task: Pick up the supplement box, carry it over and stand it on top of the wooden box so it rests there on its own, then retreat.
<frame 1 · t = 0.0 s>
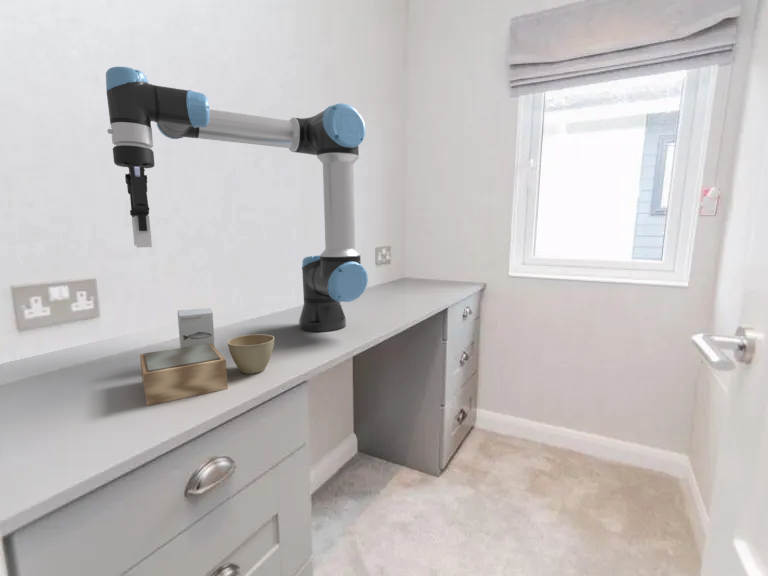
hand: (142, 246, 90), 28 cm above the table, fingers open, 13 cm apart
wooden box: (184, 385, 82), on the table
flower pot: (253, 370, 91), on the table
supplement box: (198, 363, 97), on the table
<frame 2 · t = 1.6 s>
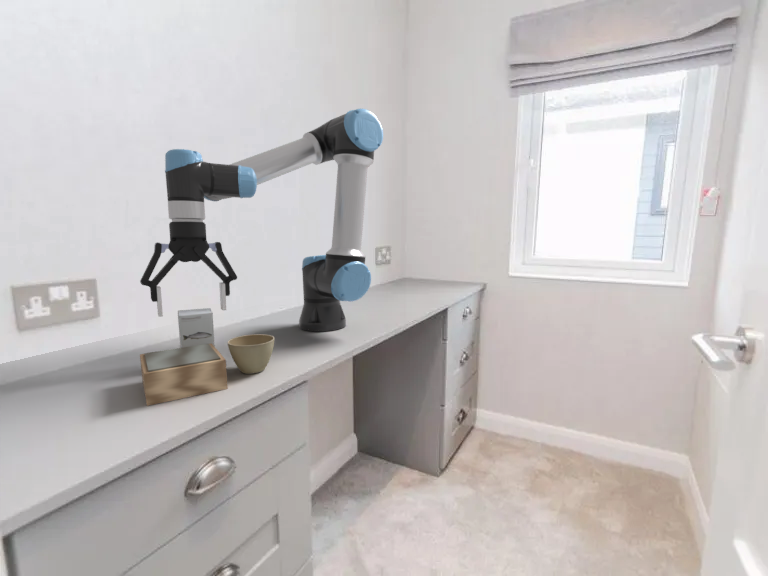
hand: (193, 312, 95), 12 cm above the table, fingers open, 13 cm apart
nothing on the table moved.
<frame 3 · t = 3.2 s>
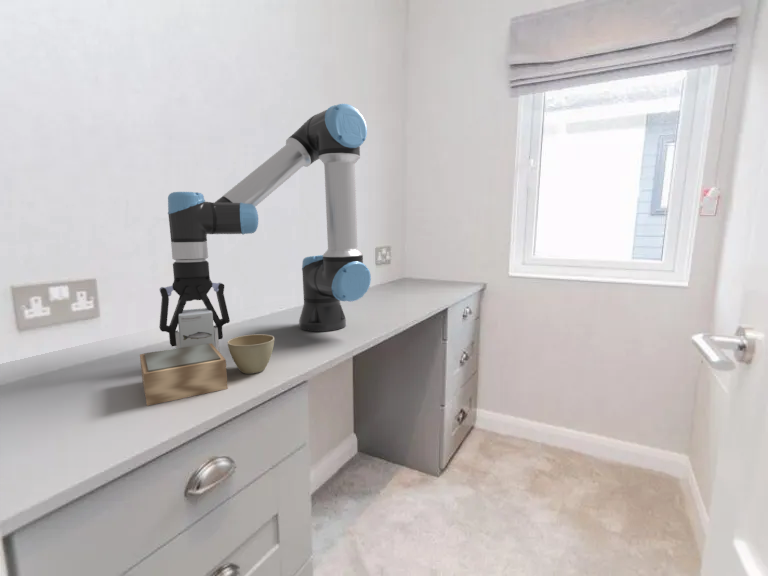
hand: (198, 355, 97), 2 cm above the table, fingers closed on supplement box, 8 cm apart
supplement box: (198, 363, 97), on the table, touching gripper
everything else where it was.
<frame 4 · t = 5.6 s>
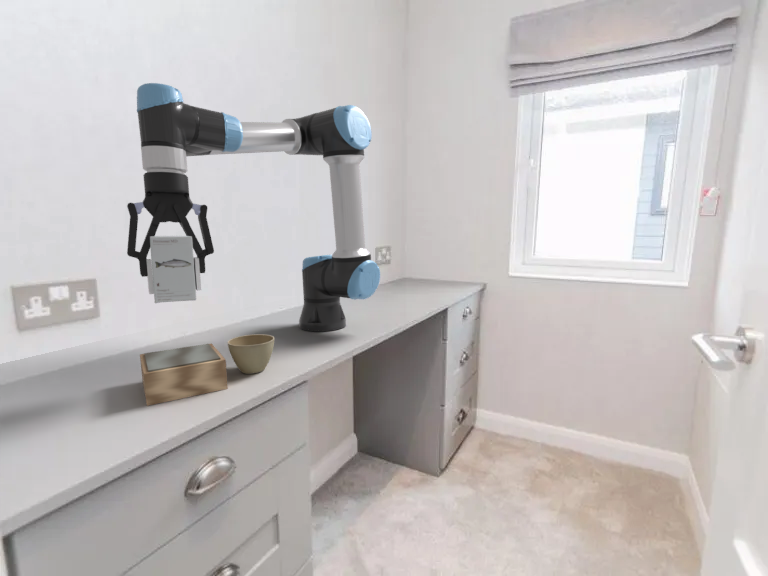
hand: (175, 291, 80), 19 cm above the table, fingers closed on supplement box, 8 cm apart
supplement box: (176, 300, 80), point 18 cm above the table, touching gripper
everything else where it was.
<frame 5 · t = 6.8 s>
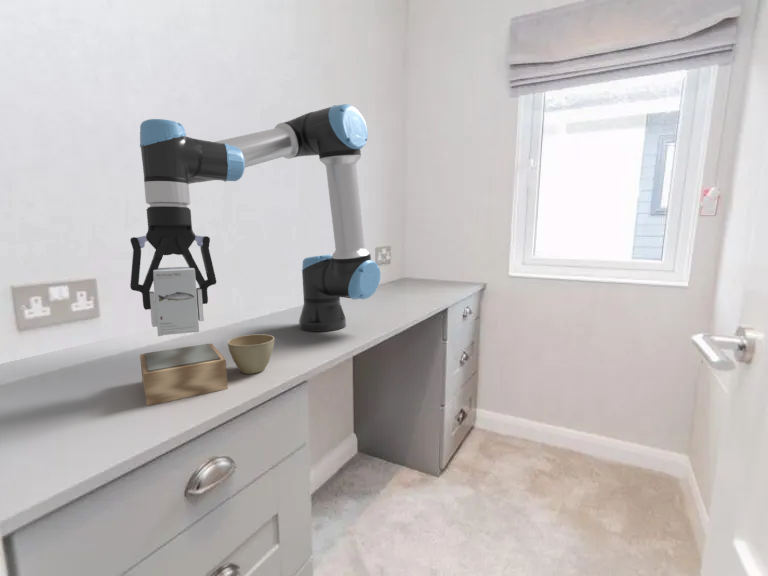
hand: (178, 322, 80), 13 cm above the table, fingers closed on supplement box, 8 cm apart
supplement box: (179, 331, 81), point 11 cm above the table, touching gripper
everything else where it was.
when the fingers open (9 cm above the table, at t = 8.0 s): supplement box stays where it is, resting on wooden box.
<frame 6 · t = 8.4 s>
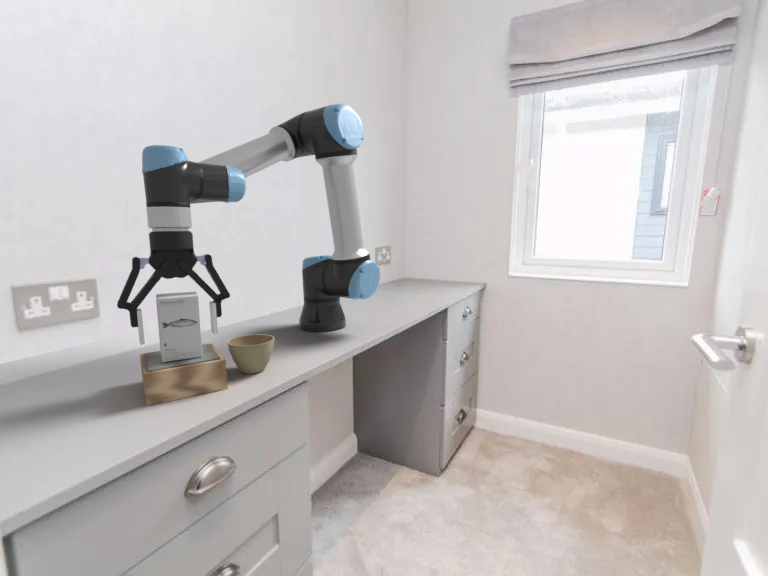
hand: (180, 337, 81), 10 cm above the table, fingers open, 12 cm apart
supplement box: (182, 356, 82), point 6 cm above the table, touching wooden box
everything else where it was.
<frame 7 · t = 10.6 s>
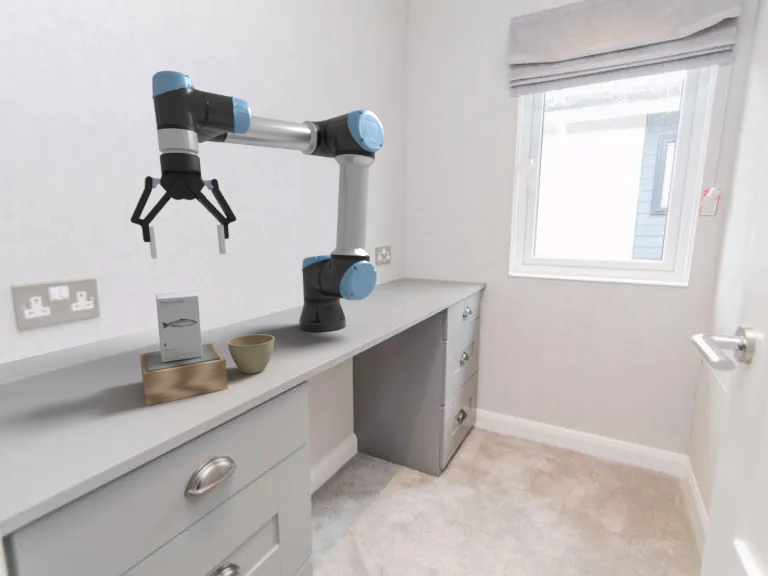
hand: (190, 256, 87), 26 cm above the table, fingers open, 13 cm apart
nothing on the table moved.
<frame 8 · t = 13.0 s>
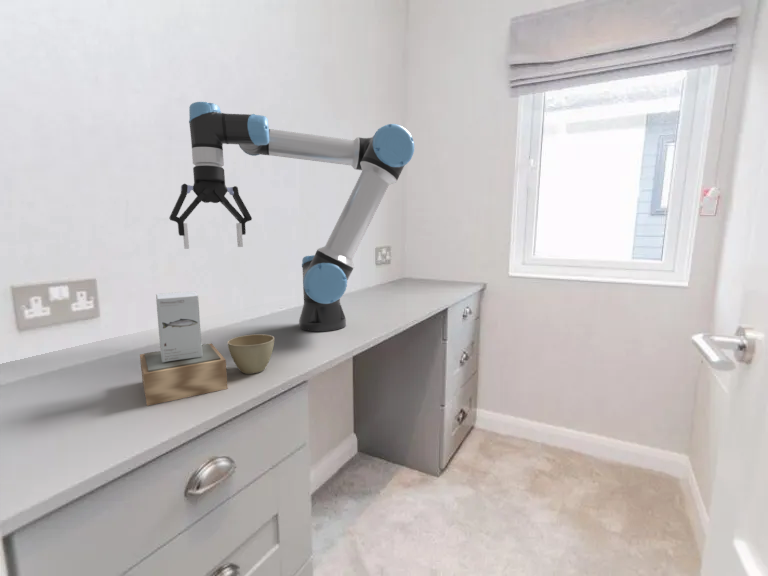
hand: (214, 247, 109), 27 cm above the table, fingers open, 13 cm apart
nothing on the table moved.
at the end: supplement box inside the target area on the wooden box (0.1 cm from its centre), point 6.1 cm above the wooden box's base; supplement box tilted 0°; the gripper is holding nothing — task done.
